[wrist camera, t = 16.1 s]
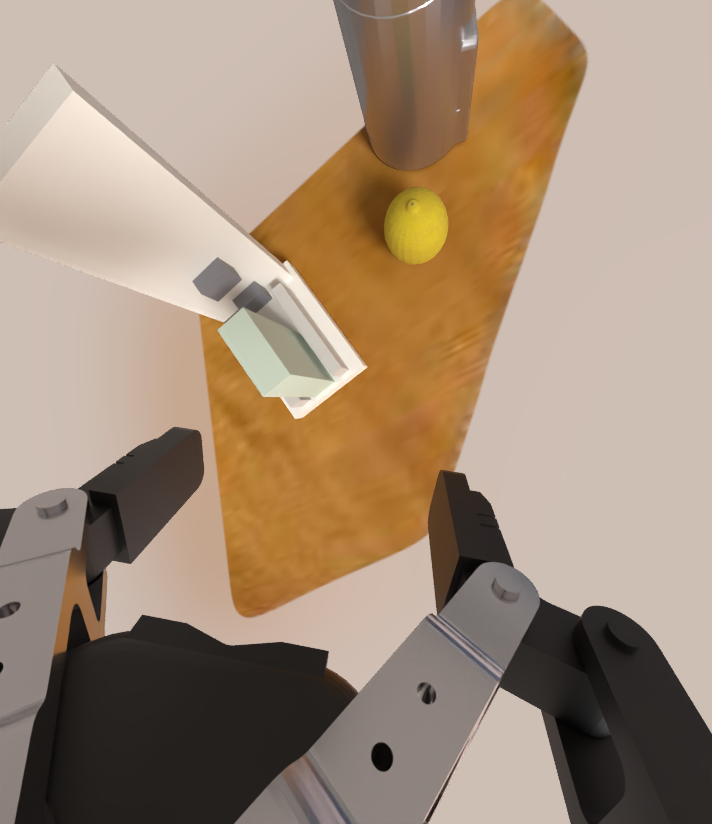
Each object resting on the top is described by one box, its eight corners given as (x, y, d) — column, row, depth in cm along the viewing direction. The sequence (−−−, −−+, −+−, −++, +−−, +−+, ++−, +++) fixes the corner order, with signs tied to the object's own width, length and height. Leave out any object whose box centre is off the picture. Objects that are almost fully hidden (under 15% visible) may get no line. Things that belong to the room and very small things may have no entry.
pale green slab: (335, 381, 35) (290, 374, 24) (315, 397, 35) (262, 396, 25) (297, 329, 35) (237, 299, 25) (278, 345, 36) (212, 322, 25)
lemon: (430, 207, 34) (428, 151, 26) (456, 256, 34) (462, 214, 26) (380, 239, 35) (365, 194, 27) (405, 286, 35) (396, 254, 27)
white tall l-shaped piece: (367, 367, 36) (241, 309, 13) (302, 417, 38) (86, 448, 14) (294, 267, 37) (58, 49, 14) (234, 321, 39) (-62, 206, 16)
